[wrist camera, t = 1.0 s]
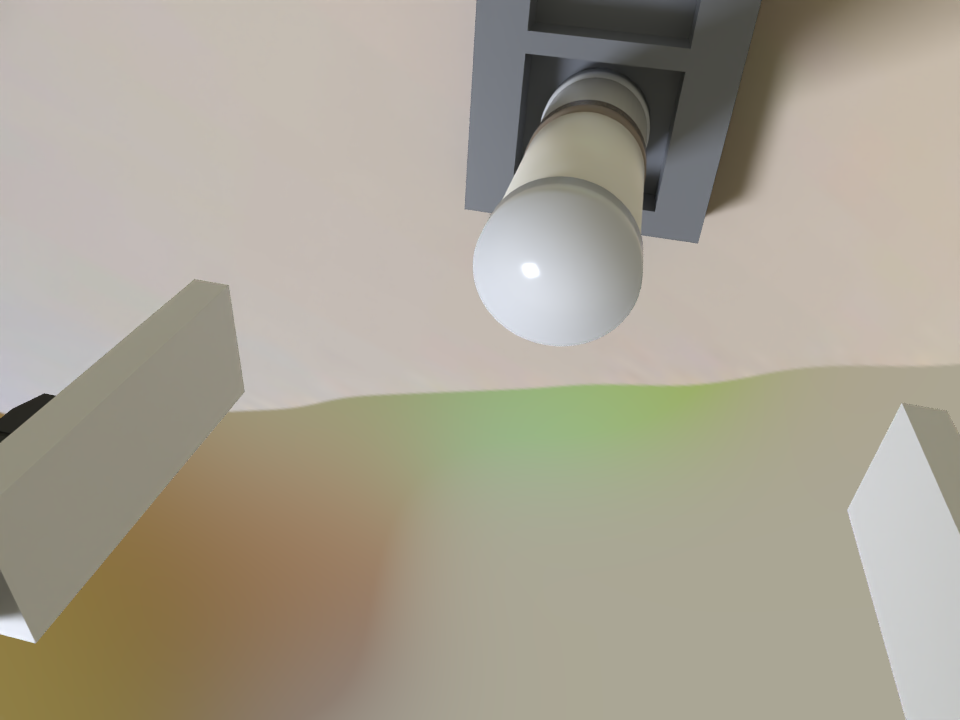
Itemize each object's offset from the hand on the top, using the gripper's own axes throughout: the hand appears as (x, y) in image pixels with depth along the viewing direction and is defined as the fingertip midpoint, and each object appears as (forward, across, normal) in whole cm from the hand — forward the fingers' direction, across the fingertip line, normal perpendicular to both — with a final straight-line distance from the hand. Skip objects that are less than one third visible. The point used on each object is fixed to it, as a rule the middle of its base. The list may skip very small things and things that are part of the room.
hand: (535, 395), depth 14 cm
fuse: (+19, 0, 0) cm, 19 cm away
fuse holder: (+20, 0, +3) cm, 20 cm away
